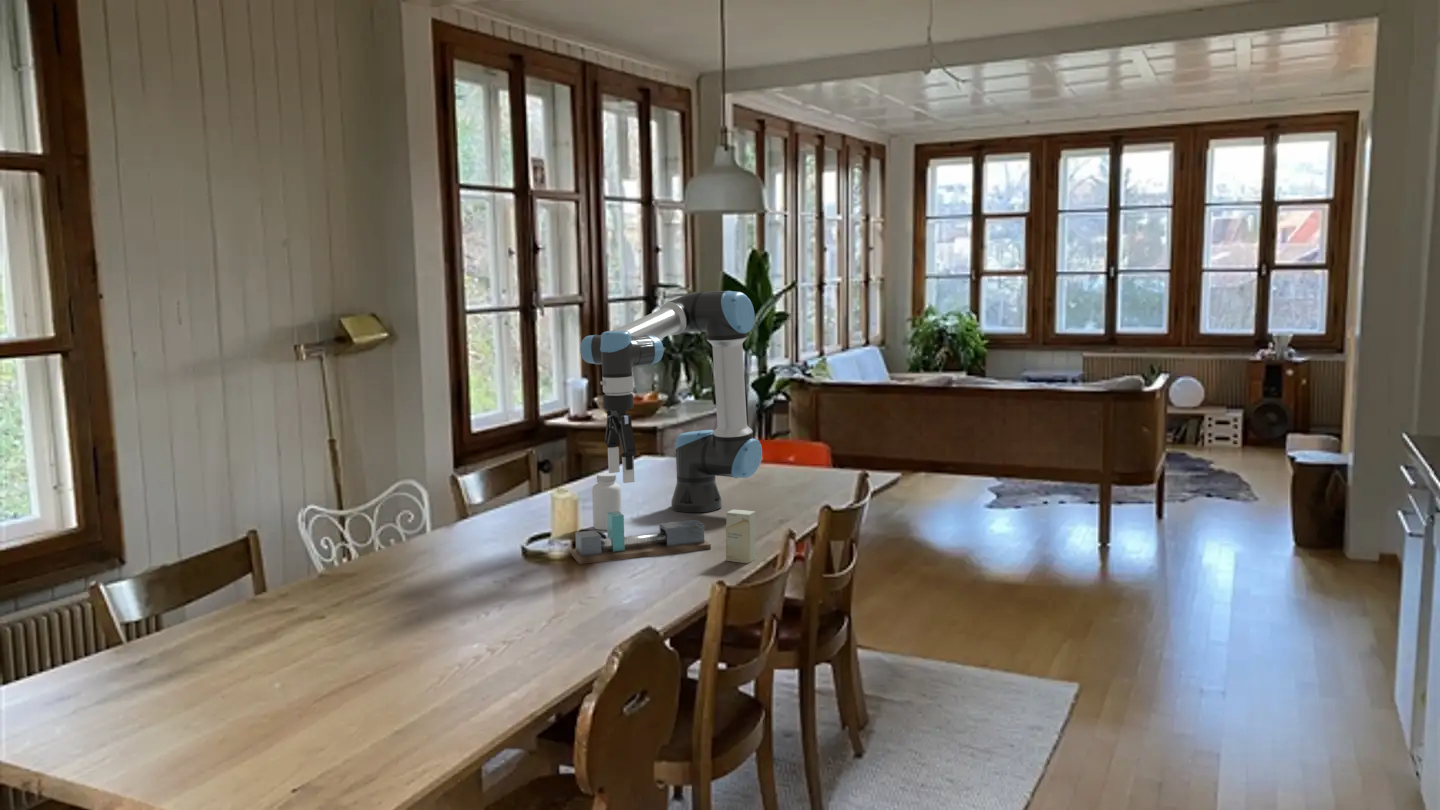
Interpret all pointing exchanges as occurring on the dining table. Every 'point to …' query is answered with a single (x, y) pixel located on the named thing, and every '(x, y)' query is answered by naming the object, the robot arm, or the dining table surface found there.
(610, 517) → the sliding bolt
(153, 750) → the dining table surface
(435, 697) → the dining table surface
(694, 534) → the sleeve
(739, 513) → the skincare box
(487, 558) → the dining table surface
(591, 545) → the grey cube
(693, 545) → the board
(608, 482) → the pill bottle
